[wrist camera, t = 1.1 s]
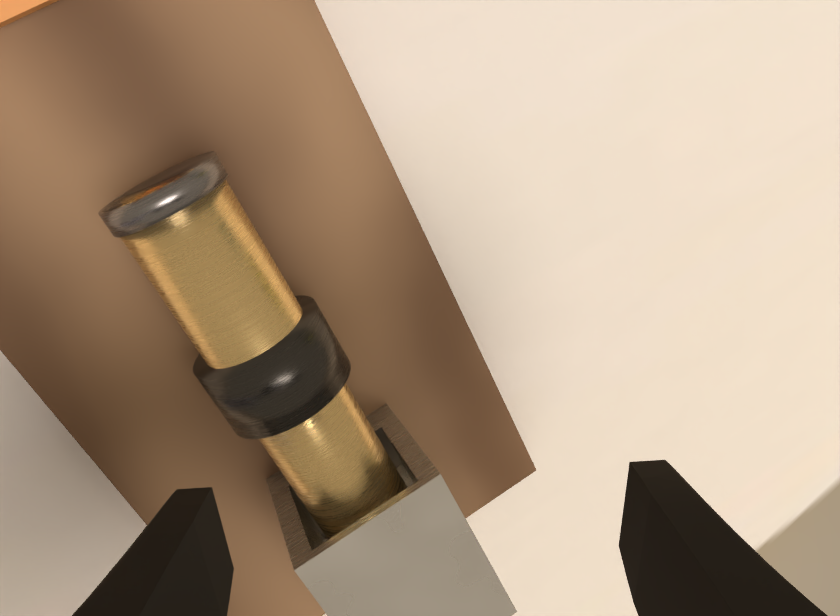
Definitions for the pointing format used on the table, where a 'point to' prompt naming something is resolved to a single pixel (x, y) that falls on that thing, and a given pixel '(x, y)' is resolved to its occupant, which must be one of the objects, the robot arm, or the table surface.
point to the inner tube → (256, 339)
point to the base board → (275, 224)
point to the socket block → (19, 9)
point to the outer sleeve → (394, 546)
